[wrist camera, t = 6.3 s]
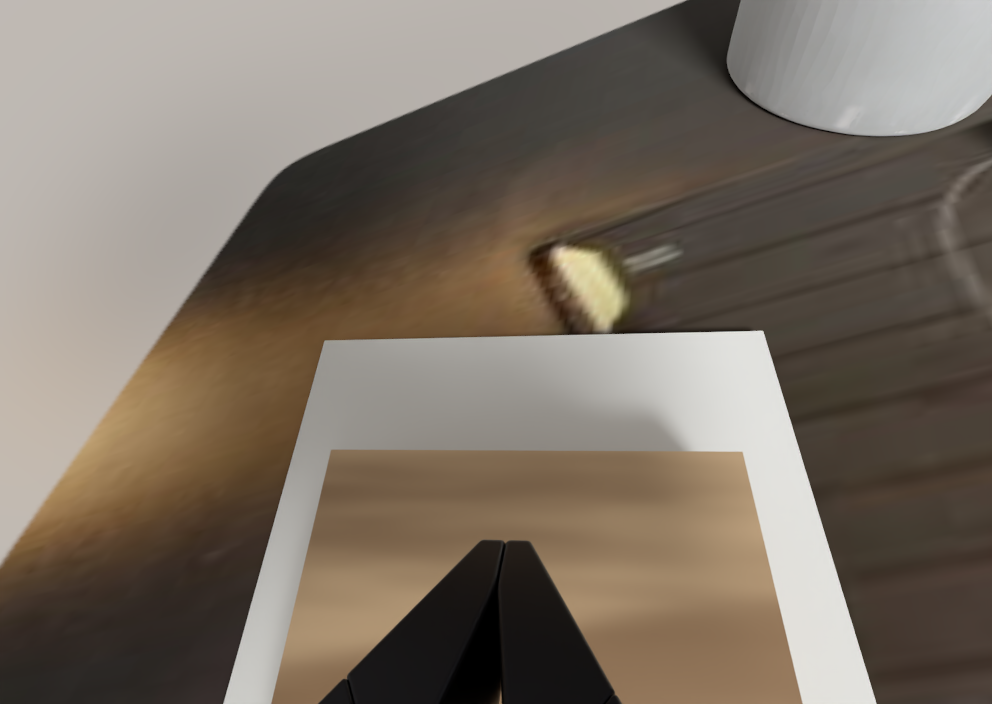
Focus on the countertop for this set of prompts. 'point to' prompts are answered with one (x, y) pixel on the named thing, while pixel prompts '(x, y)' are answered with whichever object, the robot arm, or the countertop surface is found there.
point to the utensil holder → (864, 62)
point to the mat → (566, 427)
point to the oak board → (553, 563)
